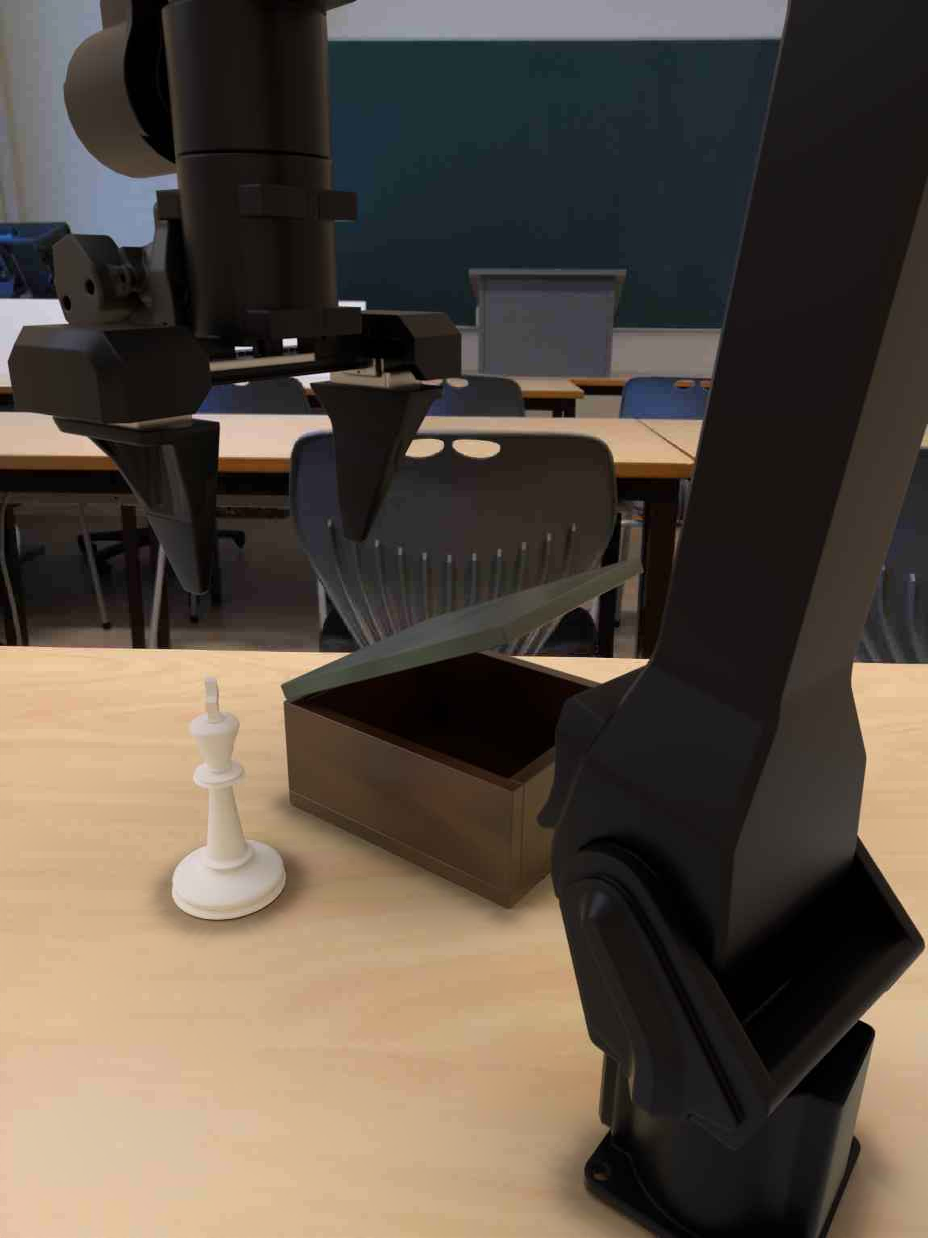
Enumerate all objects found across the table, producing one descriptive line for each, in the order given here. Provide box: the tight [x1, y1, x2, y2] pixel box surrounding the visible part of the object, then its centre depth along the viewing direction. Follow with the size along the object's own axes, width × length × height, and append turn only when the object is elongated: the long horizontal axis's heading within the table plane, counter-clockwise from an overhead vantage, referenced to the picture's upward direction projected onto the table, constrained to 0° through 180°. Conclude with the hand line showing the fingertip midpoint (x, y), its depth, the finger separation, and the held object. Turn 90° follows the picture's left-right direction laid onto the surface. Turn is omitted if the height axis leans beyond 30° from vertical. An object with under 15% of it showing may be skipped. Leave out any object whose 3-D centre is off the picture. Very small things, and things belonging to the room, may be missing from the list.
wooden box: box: [283, 649, 603, 909], centre depth 47 cm, size 14×12×6 cm
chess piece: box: [171, 676, 287, 920], centre depth 40 cm, size 5×5×10 cm
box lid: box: [280, 556, 645, 700], centre depth 45 cm, size 14×12×1 cm
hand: (282, 564), depth 40 cm, fingers open, 9 cm apart
